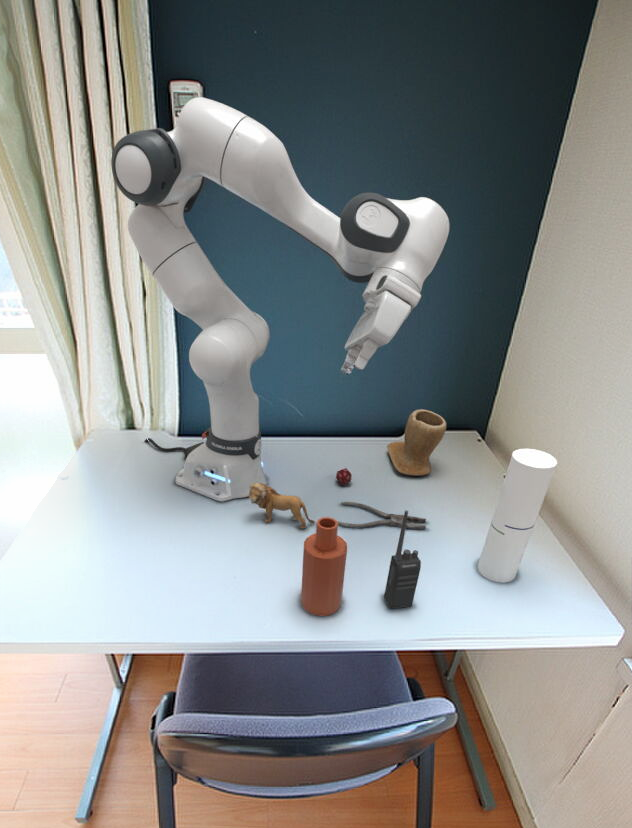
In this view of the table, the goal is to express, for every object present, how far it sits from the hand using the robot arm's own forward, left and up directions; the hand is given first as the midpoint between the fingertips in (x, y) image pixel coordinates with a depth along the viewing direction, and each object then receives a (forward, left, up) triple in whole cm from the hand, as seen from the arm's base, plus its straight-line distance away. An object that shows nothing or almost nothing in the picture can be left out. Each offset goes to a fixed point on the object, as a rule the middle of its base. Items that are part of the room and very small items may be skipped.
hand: (350, 370), depth 91 cm
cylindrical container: (+33, 0, -35) cm, 49 cm away
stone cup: (+9, +37, -35) cm, 52 cm away
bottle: (+4, -22, -35) cm, 42 cm away
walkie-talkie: (+17, -17, -35) cm, 43 cm away
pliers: (+7, +9, -35) cm, 37 cm away
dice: (-5, +20, -35) cm, 41 cm away
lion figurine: (-13, -2, -35) cm, 38 cm away
